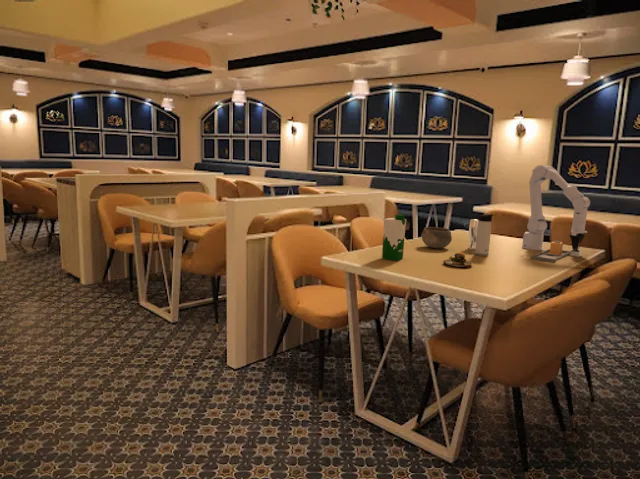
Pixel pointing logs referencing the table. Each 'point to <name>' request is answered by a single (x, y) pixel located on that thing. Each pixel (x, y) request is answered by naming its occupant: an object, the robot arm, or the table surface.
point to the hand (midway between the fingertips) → (575, 248)
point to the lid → (545, 257)
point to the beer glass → (473, 233)
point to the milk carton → (393, 238)
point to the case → (564, 253)
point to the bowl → (436, 237)
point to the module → (556, 248)
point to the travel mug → (483, 235)
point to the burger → (458, 261)
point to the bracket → (574, 253)
